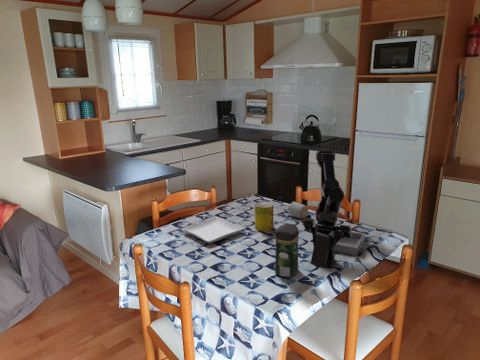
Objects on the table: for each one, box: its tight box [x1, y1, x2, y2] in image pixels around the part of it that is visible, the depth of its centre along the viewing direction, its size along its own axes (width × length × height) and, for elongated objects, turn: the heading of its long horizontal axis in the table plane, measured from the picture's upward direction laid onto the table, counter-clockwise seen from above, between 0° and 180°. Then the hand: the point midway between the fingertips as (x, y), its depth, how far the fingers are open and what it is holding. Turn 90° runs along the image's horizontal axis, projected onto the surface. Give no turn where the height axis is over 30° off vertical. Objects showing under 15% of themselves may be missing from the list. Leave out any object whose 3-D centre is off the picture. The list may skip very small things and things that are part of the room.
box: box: [329, 231, 366, 257], centre depth 163 cm, size 14×16×4 cm
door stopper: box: [310, 232, 336, 269], centre depth 147 cm, size 9×6×12 cm, turn 139°
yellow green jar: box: [254, 201, 274, 232], centre depth 183 cm, size 9×9×12 cm
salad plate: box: [182, 216, 244, 244], centre depth 178 cm, size 21×21×3 cm
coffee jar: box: [274, 223, 299, 278], centre depth 139 cm, size 10×8×19 cm
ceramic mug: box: [288, 201, 310, 219], centre depth 197 cm, size 11×8×8 cm
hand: (322, 247), depth 146 cm, fingers closed on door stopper, 6 cm apart
